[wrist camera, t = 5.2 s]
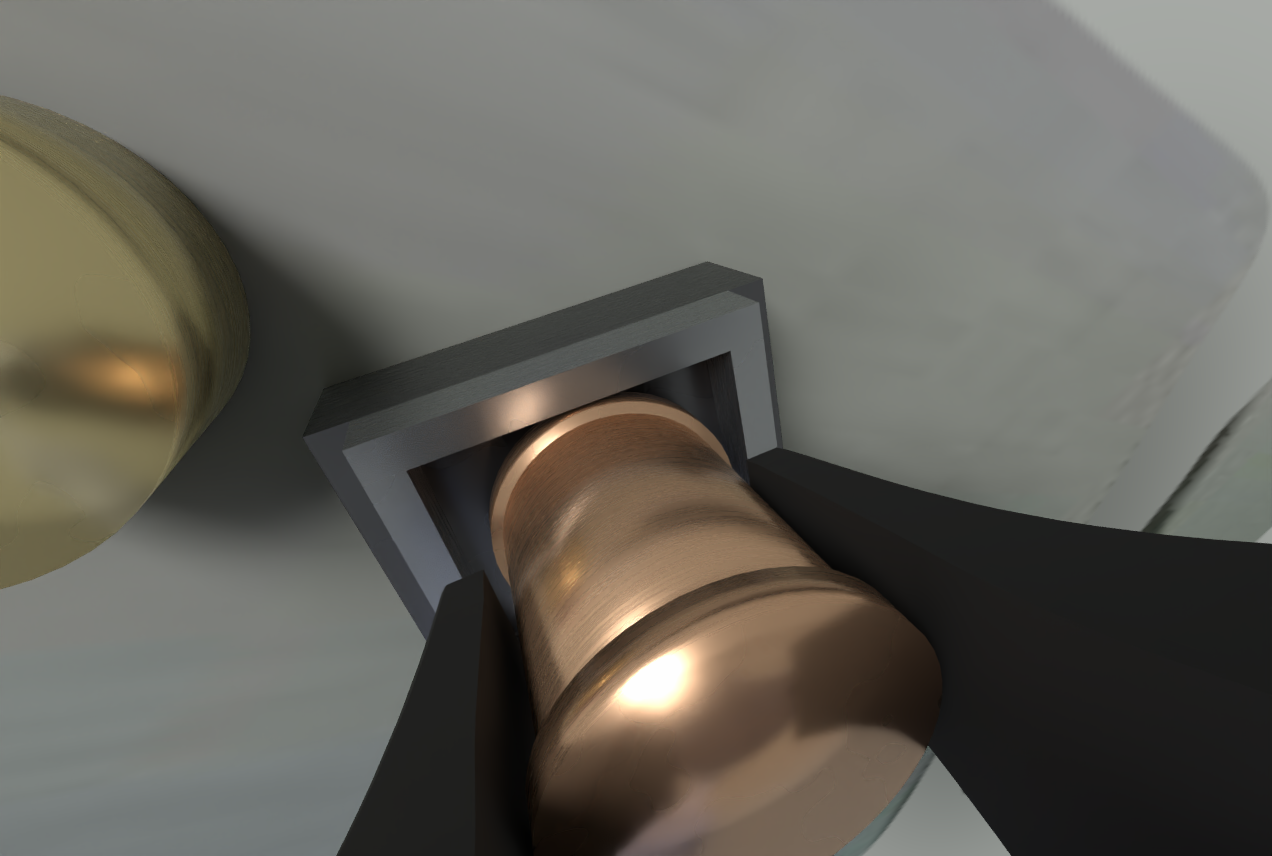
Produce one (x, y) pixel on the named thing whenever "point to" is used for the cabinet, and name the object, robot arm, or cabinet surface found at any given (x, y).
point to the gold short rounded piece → (100, 336)
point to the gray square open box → (533, 414)
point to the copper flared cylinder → (693, 650)
